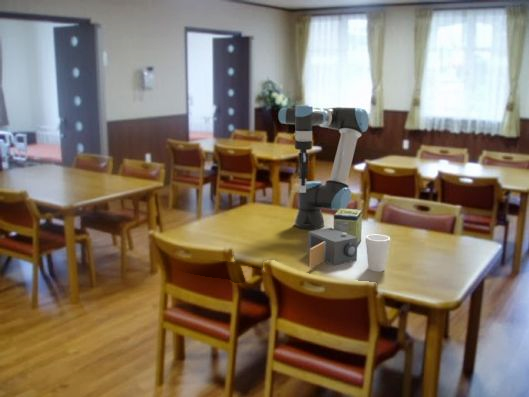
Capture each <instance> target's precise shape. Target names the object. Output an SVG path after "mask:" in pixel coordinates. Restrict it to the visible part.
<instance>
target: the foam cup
mask: <svg viewBox="0 0 529 397" xmlns="http://www.w3.org/2000/svg"><path fill="white" fill-rule="evenodd" d="M365 244H366V245H365V246H366V255H367V258H366V259H367V266H368V267H367V268H368V270H370V271H371V272H372V271H373V272H384V271H385V268H386V264H387V258H388V254H389V248H390V244H391V237H390V236H389V235H385V234H378V233H376V234H375V233H374V234H368V235H366V236H365Z"/></svg>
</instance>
